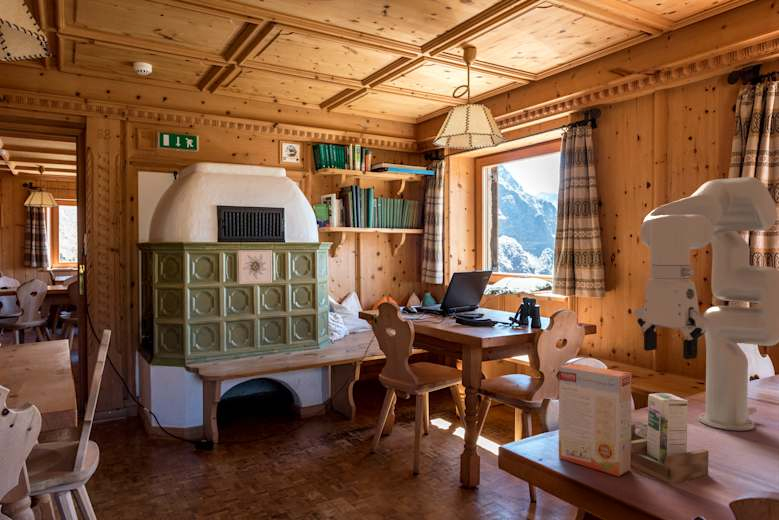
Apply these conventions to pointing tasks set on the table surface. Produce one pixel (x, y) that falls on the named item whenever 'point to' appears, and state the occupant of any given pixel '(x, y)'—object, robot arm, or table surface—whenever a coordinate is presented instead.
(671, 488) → the table surface
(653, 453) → the syrup box
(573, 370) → the cracker box
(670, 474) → the tray
